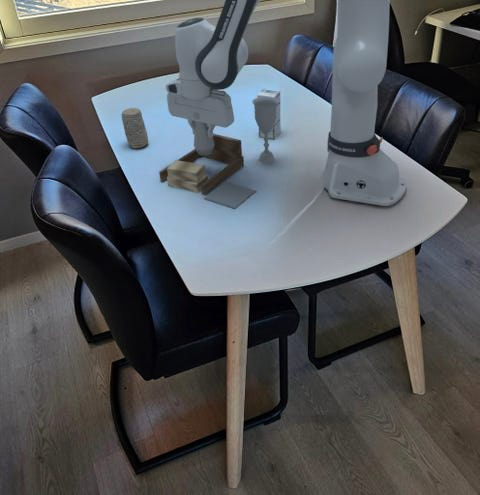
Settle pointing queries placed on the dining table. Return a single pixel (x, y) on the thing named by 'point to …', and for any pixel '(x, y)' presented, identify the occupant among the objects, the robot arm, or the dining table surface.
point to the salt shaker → (202, 138)
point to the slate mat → (230, 195)
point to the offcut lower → (187, 184)
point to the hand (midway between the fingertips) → (203, 135)
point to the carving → (134, 128)
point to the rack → (223, 152)
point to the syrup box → (277, 127)
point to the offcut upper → (186, 171)
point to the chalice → (265, 123)
